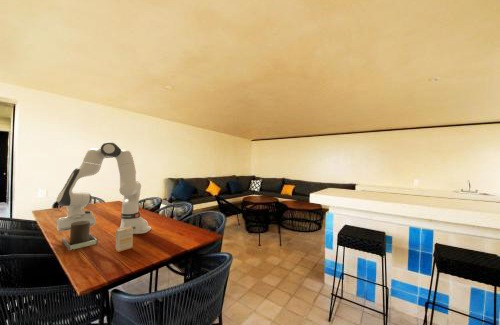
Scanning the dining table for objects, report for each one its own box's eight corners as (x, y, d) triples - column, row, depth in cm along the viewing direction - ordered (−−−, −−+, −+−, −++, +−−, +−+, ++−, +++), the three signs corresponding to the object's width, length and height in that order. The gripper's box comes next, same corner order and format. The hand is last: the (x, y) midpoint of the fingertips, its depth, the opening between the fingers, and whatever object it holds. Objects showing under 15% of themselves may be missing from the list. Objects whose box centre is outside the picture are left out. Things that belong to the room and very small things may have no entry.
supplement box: (129, 246, 131) (130, 225, 131) (132, 248, 128) (133, 227, 128) (115, 250, 124) (115, 228, 124) (117, 252, 121) (118, 230, 121)
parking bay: (62, 241, 134) (62, 237, 134) (88, 235, 145) (89, 232, 145) (68, 250, 121) (68, 246, 121) (97, 243, 132) (97, 239, 132)
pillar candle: (77, 247, 126) (78, 223, 126) (65, 245, 128) (67, 221, 128) (92, 241, 135) (94, 219, 135) (82, 239, 138) (83, 218, 138)
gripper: (56, 216, 132) (58, 234, 126) (94, 210, 148) (98, 227, 142) (55, 221, 135) (56, 239, 129) (92, 215, 151) (96, 232, 144)
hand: (78, 233), depth 135 cm, fingers closed, pressing on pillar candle
